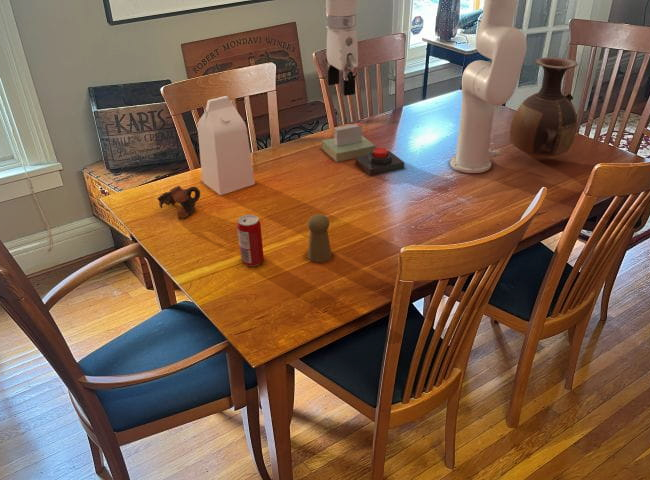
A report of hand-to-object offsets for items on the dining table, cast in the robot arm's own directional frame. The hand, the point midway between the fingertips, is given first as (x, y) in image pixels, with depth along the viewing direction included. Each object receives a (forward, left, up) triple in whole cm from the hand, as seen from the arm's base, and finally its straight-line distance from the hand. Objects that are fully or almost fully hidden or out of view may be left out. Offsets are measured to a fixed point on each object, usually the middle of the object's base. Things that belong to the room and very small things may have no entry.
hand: (341, 89), depth 166 cm
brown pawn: (+20, +31, -30) cm, 47 cm away
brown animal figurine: (+46, -8, -30) cm, 56 cm away
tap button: (-18, -9, -26) cm, 33 cm away
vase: (-66, +8, -30) cm, 73 cm away
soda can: (+36, +26, -30) cm, 54 cm away
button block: (-18, -9, -30) cm, 36 cm away
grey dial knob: (-14, -24, -27) cm, 39 cm away
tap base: (-14, -24, -30) cm, 41 cm away
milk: (+29, -19, -30) cm, 46 cm away
